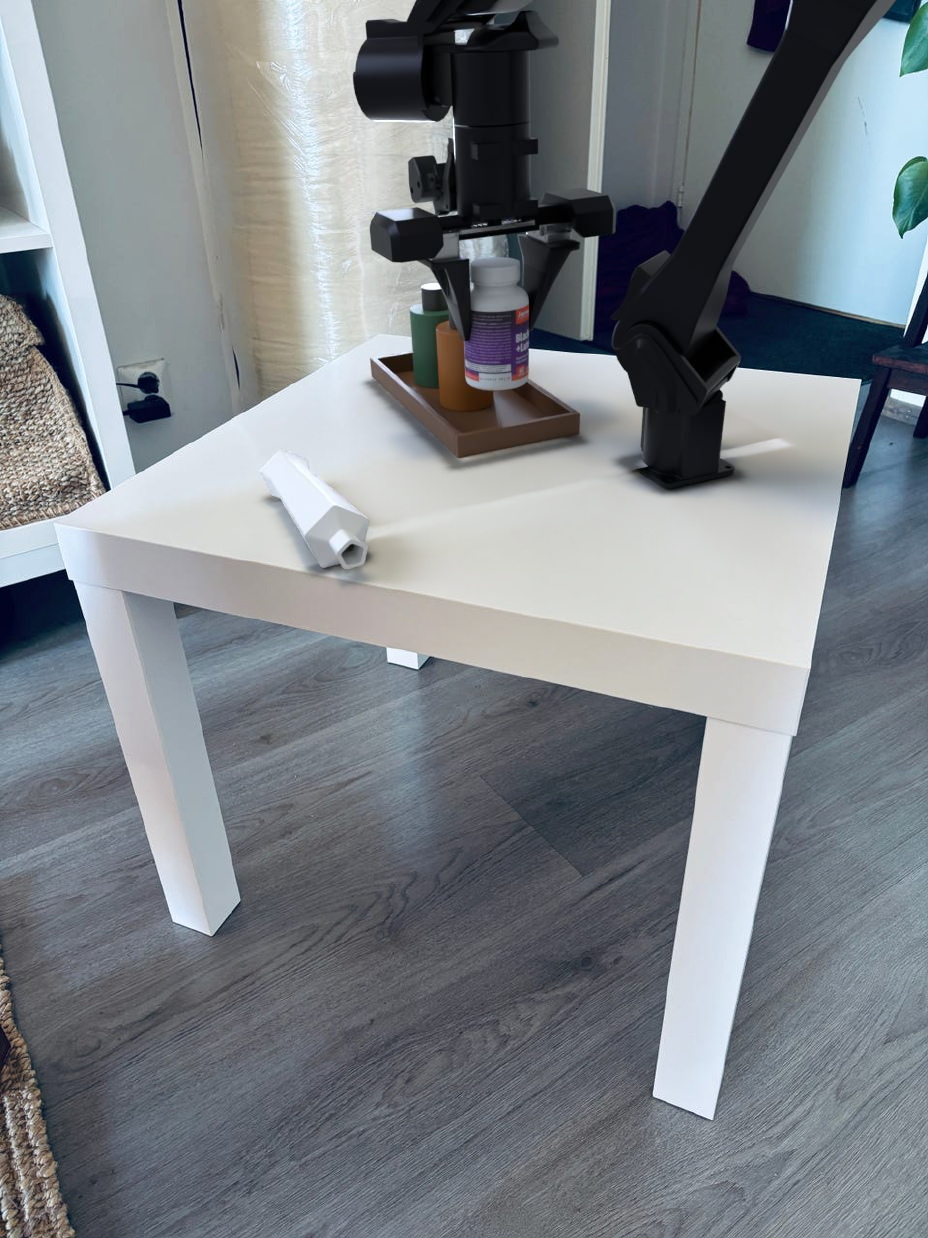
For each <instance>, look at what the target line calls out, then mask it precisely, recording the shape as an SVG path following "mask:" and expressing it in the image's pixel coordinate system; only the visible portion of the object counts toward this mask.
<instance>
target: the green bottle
mask: <svg viewBox="0 0 928 1238" xmlns="http://www.w3.org/2000/svg"><path fill="white" fill-rule="evenodd" d="M420 291H421V292H420V293H421V294H420V295H421V302H420V303H417V304H414V305H412V306H411V307H410V308H409V317H410V318H409V321H410V335H411V336H410V337H411V351H412V352H413V367H414V381H415V383H416V384H417V385H419V386H422V387H427V388H439V374H438V355H437V337H436V327H437V325H439V324H440V323H443V322H446V321H449V307H448V304H447V302H446V299H445V297H444V294H443V292H442V290H441V288H440V285H439V284H438V282H429V283H425V284H422V285H421V286H420Z"/></svg>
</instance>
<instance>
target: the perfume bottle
mask: <svg viewBox="0 0 928 1238" xmlns="http://www.w3.org/2000/svg"><path fill="white" fill-rule="evenodd" d="M258 472H259V475H260V476H261V479H262V480H263V482H264V483H265V485H266V488H267V489H268V491H269V493H270V494H271V495H272V496H273V497H275V498H278V499H280V501H281V503H282V504H283V505H284V508H285V509H286V512H287V513H288V514H289V516H290V517H291V519H292V521H293V523H294V524H295V526H296V527H297V530H298V531H299V533H300V534H301V536H302V538H303V539H304V541H305V543H306V545H307V546H308V548H309V550H310V551H311V553H312V555H313V556H314V558H315V560H316V562H318V565H319V567H321V568H322V569H325V568H330V567H333V566H337V565H340V566H341V568H342V569H344V570H350V569H353V568H357V567H361V566H363V565H364V564H365V563H366V558H367V554H368V550H369V547H368V544H367V543H366V541H367V535H368V530H369V526H370V519H369V518H368V516H366V515H365V514H363V513H362V512H361V511H360V510H359V509H358V508H356V507H355V506H353V504H351V503H350V502H349V501H348V500H346V499H345V498H344V497H343V496H342V495H341V494H340V493H338V492H337V491H336V490H334V488H332V487H331V486H330V485H329V484H327V482H325V481H324V480H323V479H322V478H321V477H319V476H318V475H317V474H316V473H314V472H313V471H312V470H311V469H310V464H309V460H308V459H307V458H306V457H303V456H301V455H299V454H297V453H294V452H292V451H289V450H287V449H285V448H278V450H277V451H276V452H275V453H274V454H273V455H272V456H271V457H270V458H269V459H268V460H267V462H265V463H264V465H262V467H261V468H260V469H259V471H258Z"/></svg>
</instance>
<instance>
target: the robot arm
mask: <svg viewBox="0 0 928 1238" xmlns="http://www.w3.org/2000/svg"><path fill="white" fill-rule="evenodd" d="M534 1H535V0H415V1H414V4H413V6H412V8H411V10H410V12H409V13H408V17H407V19H406V21H403V20H398V19H395V18H381V19H367V20H366V22H365V23H364V24H365V25H364V26H365V35H366V39H365V40H364V41H363V43H362V44H361V46H360V47H359V51H358V53H357V56H356V60H355V68H354V71H353V73H352V84H353V90H354V96H355V98H356V102H357V104H358V106H359V109H360V111H361V112H362V113H363V115H364V116H365V117H366V118H368V119H369V120H370V121H373V122H399V123H400V122H403V123H412V122H413V123H439V122H441V121H442V120H444V119H445V118H446V117H447V115H448V113H449V112H450V110H451V108H452V123H453V124H452V127H453V128H452V130H453V131H452V132H453V136H452V137H450V136H449V137H447V145H446V149H447V150H446V151H447V153H446V154H447V157H446V160H445V162H439V163H438V162H437V159H436V156H435V155H433V154H432V155H430V154H429V155H420V156H419V155H418V156H413V157H411V158H410V159H409V160H408V161H407V169H408V171H407V172H408V174H407V175H408V187H409V192H410V198H411V201H412V202H413V203H414V204H423V203H431V202H432V206H433V213H432V212H430V211H428V210H425V209H423V208H421V207H418V206H417V207H416V206H415V207H407V208H399V209H390V210H382V211H376V212H375V214H374V216H373V217H372V219H371V220H370V224H369V236H370V237H369V238H370V247H371V251H372V252H374V253H375V254H377V255H379V256H381V257H383V258H385V259H386V260H388V261H389V262H391V263H399V264H402V263H410V262H418V263H420V264H422V265H424V266H425V267H427V268H429V269H430V271H431V273H432V274H433V276H434V278H435V280H436V283H438V284H439V285H440V288H441V290H442V292H443V294H444V297H445V299H446V302H447V304H448V307H449V310H450V312H451V315H452V317H453V320H454V322H455V325H456V328H457V330H458V333H459V335H460V338H461V339H462V340H464V341H469V340H470V331H471V297H470V289H471V281H470V280H471V278H470V263H471V262H470V261H471V260H470V258H468V257H466V256H464V255H462V254H461V253H460V252H461V250H460V241H468V240H475V239H482V238H491V237H497V236H504V235H505V236H506V235H512V234H513V235H514V234H517V240H518V244H519V249H520V252H521V257H522V284H521V288H522V289H524V290H525V291H526V293H527V295H528V299H529V332H530V331H533V330H534V328H535V325H536V323H537V321H538V318H539V316H540V314H541V312H542V309H543V307H544V305H545V302H546V300H547V298H548V296H549V293H550V291H551V289H552V287H553V285H554V283H555V281H556V279H557V277H558V275H559V274H560V272H561V270H562V269H563V266H564V265H565V263H566V261H567V259H568V258H569V257H570V254H571V253H572V252H575V251H579V250H580V249H581V242H580V241H578V240H576V239H573V231H574V232H575V233H576V234H577V235H578V236H579V237H580V238H583V239H587V238H594V237H603V236H609V235H614V234H615V233H616V226H617V225H616V224H617V210H616V206H615V204H614V201H613V199H611V197H610V195H609V194H606V193H602V192H599V191H596V190H591V189H588V188H585V187H577V188H569V189H568V188H567V189H560V190H551V191H544V193H543V195H542V197H541V200H540V202H539V198H535V197H532V173H531V172H532V164H531V162H532V160H531V157H532V155H538V154H539V138H537V137H532V136H531V51H532V52H533V51H535V52H536V51H541V50H548V49H554V48H557V47H558V46H559V44H560V38H559V37H558V35H557V34H556V33H555V32H554V31H552V29H550V28H549V27H548V26H547V25H546V24H545V22H543V20H542V19H541V17H540V15H539V13H538V11H537V10H536V9H528V10H521V9H523V8H525V7H526V6H528V5H529V4H531V3H532V2H534ZM896 1H897V0H790V4H789V9H788V13H787V18H786V21H785V22H786V23H785V27H784V31H783V33H782V35H781V36H782V37H781V38H780V41H779V42H778V45H777V47H776V48H775V51H774V53H773V54H772V57H771V58H770V61H769V63H768V65H767V67H766V69H765V71H764V73H763V75H762V77H761V78H760V80H759V83H758V85H757V87H756V89H755V90H754V92H753V95H752V97H751V99H750V100H749V103H748V105H747V107H746V109H745V111H744V113H743V114H742V116H741V118H740V120H739V123H738V124H737V126H736V128H735V130H734V133H733V134H732V137H731V138H730V140H729V142H728V144H727V146H726V147H725V150H724V152H723V154H722V156H721V158H720V160H719V162H718V164H717V166H716V168H715V170H714V172H713V174H712V176H711V178H710V180H709V183H708V184H707V186H706V188H705V190H704V192H703V194H702V196H701V198H700V200H699V202H698V204H697V206H696V208H695V209H694V212H693V214H692V216H691V218H690V220H689V222H688V224H687V226H686V228H685V229H684V232H683V234H682V235H681V237H680V240H679V242H678V244H677V245H676V247H675V249H674V250H673V252H672V253H669V251H667V250H663V251H661V252H660V253H657V254H656V255H654V256H653V257H651V258H649V259H648V260H646V261H644V262H643V263H641V264H639V265H638V266H636V267H635V268H634V270H633V273H632V275H631V277H630V280H629V283H628V287H627V290H626V293H625V297H624V299H623V301H622V302H621V303H620V305H619V307H618V308H617V309H616V310H615V311H614V312H612V314H610V316H609V317H610V320H612V321H617V323H616V324H615V326H614V329H613V333H612V336H611V347H612V349H613V350H614V354H615V357H616V360H617V362H618V363H619V364H620V366H621V367H622V369H623V371H625V373H627V377H628V381H629V384H630V387H631V391H632V395H633V398H634V403H635V405H636V407H638V408H642V417H641V418H642V419H641V433H640V449H641V450H640V451H641V452H642V462H643V463H644V465H646V466H642V467H638V468H636V470H637V471H638V472H640V473H642V474H643V475H644V476H645V477H647V478H648V479H650V480H651V481H652V482H654V483H655V484H657V485H658V486H660V487H661V488H663V489H669V490H670V489H675V488H678V487H679V488H680V487H683V486H687V485H692V484H696V483H700V482H705V481H709V480H713V479H718V478H723V477H727V476H731V475H734V474H735V472H736V471H735V470H736V467H735V466H734V465H732V464H731V463H729V462H728V461H726V460H724V459H723V458H721V449H722V442H723V432H724V424H725V415H726V406H727V401H726V400H725V399H724V393H723V391H722V390H721V388H723V386H724V385H725V384H726V383H728V382H730V381H731V380H732V378H733V376H734V374H735V373H736V370H737V368H738V366H739V364H740V362H741V360H742V355H741V354H740V353H739V352H738V350H737V349H736V348H735V347H734V346H733V344H732V343H731V342H730V341H729V340H728V338H727V337H726V336H725V334H724V333H723V332H722V330H721V329H720V328H719V327H718V323H719V322H718V321H719V319H720V317H721V313H722V311H723V308H724V305H725V302H726V300H727V296H728V295H727V294H728V291H729V290H728V289H729V285H730V281H731V275H732V271H733V267H734V265H735V262H736V260H737V258H738V256H739V255H740V253H741V250H742V249H743V247H744V245H745V244H746V242H747V240H748V238H749V237H750V234H751V232H752V230H753V229H754V227H755V226H756V223H757V222H758V220H759V218H760V216H761V214H762V213H763V211H764V209H765V208H766V206H767V204H768V202H769V200H770V198H771V197H772V195H773V193H774V191H775V189H776V187H777V186H778V184H779V182H780V180H781V178H782V177H783V175H784V173H785V171H786V169H787V167H788V166H789V164H790V163H791V160H792V158H793V157H794V155H795V153H796V151H797V149H798V148H799V146H800V144H801V143H802V141H803V139H804V137H805V135H806V133H807V132H808V130H809V128H810V126H811V124H812V123H813V121H814V118H815V117H816V115H817V114H818V112H819V110H820V107H821V106H822V105H823V102H825V99H826V97H827V95H828V93H829V91H830V90H831V88H832V86H833V84H834V82H835V81H836V79H837V77H838V76H839V73H840V72H841V70H842V68H843V67H844V65H845V63H846V62H847V60H848V59H849V58H850V56H851V55H852V54H853V52H854V51H855V50H856V49H857V48H858V47H859V45H860V44H861V43H862V42H863V40H864V39H865V38H866V37H867V36H868V34H869V33H870V32H871V31H872V30H873V29H874V27H876V25H877V24H878V23H879V22H880V20H882V18H883V17H884V16H885V15H886V13H887V12H888V11H889V10H890V9H891V7H892V6H893V5H894V4H895V2H896ZM519 10H520V11H519ZM517 11H519V12H518V13H517V15H516V17H515V18H514V20H513V21H512V22H511V23H492V22H493V21H494V20H495V18H497V17H498V16H499V15H500V14H508V13H513V12H517ZM461 31H462V32H463V31H472V32H471V33H470V34H469V37H468V39H467V41H466V42H456V33H457V32H461ZM454 212H456V214H451V215H450V213H454Z"/></svg>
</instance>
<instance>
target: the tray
mask: <svg viewBox="0 0 928 1238" xmlns="http://www.w3.org/2000/svg"><path fill="white" fill-rule="evenodd" d="M369 362H370V374H371V377H372V378H373V379H374V380H375V381H376V382H377V383H378V384H379V385H380V386H381V387H383V388H384V389H385V390H386V391H387V392H388V393H389V394H390V396H392V397H393V398H394V399H395V400H396V401H397V402H398V403H399V404H400V405H401V406H402V407H404V409H406V410H407V411H408V412H409V413H410V414H411V415H412V416H413V417H414V418H415V419H416V420H417V421H418V422H419V423H421V425H422V426H424V428H426V429H427V430H428V431H429V432H430V433H431V434H432V435H433V436H434V437H435V438H436V439H437V440H438V441H439V442H440V443H441V444H442V445H444V447H446V449H448V450H449V451H450V452H451V453H452V454H453V455H454V456H455V457H456V458H457V459H462V458H466V457H472V456H475V455H481V454H486V453H492V452H495V451H501V450H502V451H503V450H506V449H512V448H517V447H521V446H526V445H531V444H535V443H541V442H545V441H551V440H555V439H560V438H561V439H562V438H566V437H571V436H576V435H579V434H580V431H581V430H580V428H581V427H580V426H581V413H580V412H579V411H577V410H576V409H574V408H573V407H572V406H570V405H569V404H567V403H566V402H564V401H563V400H561V399H560V398H558V397H556V396H555V395H554V394H552V392H549V391H548V390H547V389H545V388H543V387H542V386H540V385H539V384H537V383H536V382H534V381H533V380H531V379H530V378H528V380H527V382H526V383H525V384H523V385H522V386H519V387H517V388H513V389H507V390H494V402H493V404H492V405H490V406H489V407H487V408H484V409H481V410H475V411H454V410H449V409H446V408H444V407H443V406H441V404H440V392H439V388H427V387H422V386H419V385H417V384H416V383H415V381H414V367H413V352H412V350H410V351H405V352H398V353H392V354H385V355H380V356H373V357H370V358H369Z"/></svg>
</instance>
